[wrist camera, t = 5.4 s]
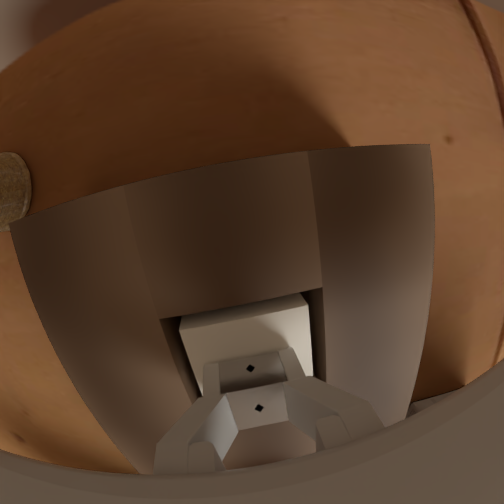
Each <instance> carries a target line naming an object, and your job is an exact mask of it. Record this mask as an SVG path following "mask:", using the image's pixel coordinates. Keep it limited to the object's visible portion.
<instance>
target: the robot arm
mask: <svg viewBox="0 0 504 504" xmlns="http://www.w3.org/2000/svg"><path fill="white" fill-rule="evenodd" d="M288 420H289V422H291V423H292V424H293V425H295V426H296V427H297V428H299V429H300V430H301V431H303V432H304V433H305V434H307V435H308V436H309V437H311V438H312V439H314V440H315V441H316V452H315V453H312V454H308V455H304V456H301V457H297V458H293V459H288V460H284V461H279V462H275V463H270V464H265V465H259V466H254V467H248V468H241V469H234V470H226V468H225V466H224V464H223V462H222V461H223V459H224V457H225V455H226V453H227V452H228V450H229V448H230V446H231V444H232V443H233V441H234V439H235V437H236V435H237V433H238V430H243V429H248V428H253V427H258V426H262V425H268V424H273V423H278V422H283V421H288ZM0 504H504V359H502V360H501V361H500V362H498V363H497V364H496V365H494V366H493V367H492V368H490V369H489V370H488V371H486V372H485V373H483V374H482V375H480V376H479V377H477V378H476V379H475V380H473V381H472V382H470V383H468V384H467V385H465V386H464V387H462V388H461V389H459V390H457V391H456V392H454V393H452V394H451V395H449V396H447V397H446V398H444V399H442V400H440V401H439V402H437V403H435V404H433V405H431V406H429V407H428V408H426V409H424V410H422V411H420V412H418V413H416V414H414V415H412V416H410V417H408V418H406V419H404V420H401V421H399V422H397V423H395V424H393V425H390V426H388V427H386V428H385V426H384V425H383V423H382V422H381V420H380V418H379V417H378V415H377V414H376V412H375V410H374V409H373V407H372V406H371V404H370V403H369V401H366V400H364V399H362V398H359V397H357V396H355V395H352V394H350V393H348V392H345V391H343V390H341V389H339V388H337V387H334V386H332V385H330V384H328V383H326V382H323V381H321V380H319V379H317V378H315V377H313V376H311V375H310V376H306V375H305V373H304V371H303V369H302V366H301V364H300V362H299V360H298V357H297V355H296V353H295V351H294V349H293V348H292V347H289V348H286V349H282V350H278V351H276V352H272V353H267V354H263V355H258V356H253V357H247V358H241V359H235V360H229V361H223V362H217V363H210V364H204V366H203V397H200V398H198V399H197V400H196V401H195V402H194V403H193V404H192V405H191V407H190V408H189V409H188V410H187V411H186V412H185V413H184V414H183V416H182V417H181V418H180V419H179V420H178V421H177V422H176V423H175V424H174V426H173V427H172V428H171V429H170V430H169V431H168V432H167V433H166V434H165V435H164V436H163V437H162V439H161V440H160V441H159V442H158V443H157V445H156V452H155V460H154V468H153V475H147V474H124V473H111V472H101V471H93V470H85V469H79V468H73V467H67V466H61V465H56V464H52V463H47V462H43V461H39V460H35V459H31V458H27V457H24V456H20V455H17V454H13V453H10V452H7V451H4V450H1V449H0Z"/></svg>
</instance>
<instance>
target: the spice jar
mask: <svg viewBox="0 0 504 504" xmlns="http://www.w3.org/2000/svg"><path fill="white" fill-rule="evenodd" d="M31 193H32V187H31V179H30V172H29V170H28V168H27V166H26V164H25V162H24V161H23V159H22V158H21V157H20V156H19V155H17V154H16V153H12V152H3V153H0V232H1V231H10V227H9V223H11V222H13V221H16V220H18V219H21V218H23V217H25V216H26V214H27V211H28V209H29V206H30V200H31Z"/></svg>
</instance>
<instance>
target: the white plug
mask: <svg viewBox="0 0 504 504" xmlns="http://www.w3.org/2000/svg"><path fill="white" fill-rule="evenodd" d="M179 332H180V335H181V338H182V341H183V344H184V347H185V350H186V353H187V355H188V358H189V361H190V364H191V367H192V369H193V372H194V375H195V378H196V380H197V383H198V385H199V388H200V391H201V393H202V396H203V366H204V364H210V363H217V362H223V361H229V360H235V359H241V358H247V357H253V356H258V355H263V354H267V353H272V352H276V351H278V350H282V349H286V348H289V347H292V348H293V349H294V351H295V353H296V355H297V357H298V360H299V362H300V364H301V366H302V369H303V371H304V373H305V375H306V376H310V375H311V376H313V365H312V349H311V335H310V322H309V311H308V304H307V303H306V301H305V300H304V298H303V297H302V295H301V294H300V292H298V293H294V294H289V295H285V296H280V297H275V298H271V299H266V300H261V301H256V302H251V303H246V304H241V305H236V306H231V307H226V308H220V309H215V310H209V311H204V312H198V313H193V314H187V315H182V317H181V323H180V328H179Z"/></svg>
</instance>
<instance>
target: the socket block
mask: <svg viewBox="0 0 504 504" xmlns="http://www.w3.org/2000/svg"><path fill="white" fill-rule="evenodd" d="M9 227H10V231H11V235H12V239H13V243H14V247H15V250H16V254H17V257H18V261H19V264H20V267H21V270H22V273H23V276H24V279H25V282H26V285H27V287H28V290H29V293H30V296H31V298H32V301H33V303H34V306H35V308H36V311H37V313H38V315H39V318H40V320H41V322H42V325H43V327H44V329H45V331H46V333H47V336H48V338H49V340H50V342H51V344H52V346H53V348H54V350H55V352H56V354H57V356H58V358H59V360H60V361H61V363H62V365H63V367H64V369H65V371H66V372H67V374H68V376H69V378H70V379H71V381H72V383H73V384H74V386H75V388H76V389H77V391H78V393H79V394H80V396H81V397H82V399H83V401H84V402H85V404H86V405H87V407H88V408H89V410H90V411H91V413H92V414H93V416H94V417H95V418H96V420H97V421H98V423H99V424H100V425H101V427H102V428H103V430H104V431H105V432H106V434H107V435H108V436H109V438H110V439H111V440H112V441H113V443H114V444H115V445H116V446H117V448H118V449H119V450H120V451H121V453H122V454H123V455H124V456H125V457H126V459H127V460H128V461H129V462H130V463H131V464H132V466H133V467H134V468H135V469H136V470H137V471H138V472H139V473H140V474H147V475H153V468H154V460H155V452H156V445H157V443H158V442H159V441H160V440H161V439H162V437H163V436H164V435H165V434H166V433H167V432H168V431H169V430H170V429H171V428H172V427H173V426H174V424H175V423H176V422H177V421H178V420H179V419H180V418H181V417H182V416H183V414H184V413H185V412H186V411H187V410H188V409H189V408H190V407H191V405H192V404H193V403H194V402H195V401H196V400H197V399H198V398H200V397H203V396H202V393H201V391H200V388H199V385H198V383H197V380H196V378H195V375H194V372H193V369H192V367H191V364H190V361H189V358H188V355H187V353H186V350H185V347H184V344H183V341H182V338H181V335H180V332H179V328H180V323H181V317H182V315H187V314H193V313H198V312H204V311H209V310H215V309H220V308H226V307H231V306H236V305H241V304H246V303H251V302H256V301H261V300H266V299H271V298H275V297H280V296H285V295H289V294H294V293H298V292H300V294H301V295H302V297H303V298H304V300H305V301H306V303H307V304H308V311H309V322H310V335H311V349H312V365H313V377H315V378H317V379H319V380H321V381H323V382H326V383H328V384H330V385H332V386H334V387H337V388H339V389H341V390H343V391H345V392H348V393H350V394H352V395H355V396H357V397H359V398H362V399H364V400H366V401H369V403H370V404H371V406H372V407H373V409H374V410H375V412H376V414H377V415H378V417H379V418H380V420H381V422H382V423H383V425H384V426H385V428H386V427H388V426H390V425H393V424H395V423H397V422H399V421H401V420H404V419H405V417H406V414H407V411H408V407H409V404H410V400H411V397H412V393H413V389H414V386H415V382H416V377H417V373H418V369H419V365H420V360H421V355H422V350H423V345H424V339H425V334H426V328H427V321H428V314H429V307H430V298H431V289H432V278H433V264H434V240H435V207H434V184H433V170H432V159H431V150H430V144H398V145H372V146H355V147H342V148H330V149H319V150H309V151H300V152H292V153H284V154H276V155H269V156H262V157H255V158H249V159H243V160H237V161H231V162H225V163H220V164H214V165H209V166H204V167H199V168H194V169H189V170H184V171H180V172H175V173H171V174H166V175H162V176H158V177H153V178H149V179H145V180H141V181H137V182H133V183H130V184H126V185H122V186H118V187H115V188H111V189H108V190H104V191H101V192H97V193H94V194H91V195H87V196H84V197H81V198H78V199H75V200H72V201H68V202H65V203H62V204H59V205H57V206H54V207H51V208H48V209H45V210H42V211H39V212H37V213H34V214H31V215H29V216H26V217H23V218H21V219H18V220H16V221H13V222H11V223H9ZM315 452H316V441H315V440H314V439H312V438H311V437H309V436H308V435H307V434H305V433H304V432H303V431H301V430H300V429H299V428H297V427H296V426H295V425H293V424H292V423H291V422H289V420H288V421H283V422H278V423H273V424H268V425H262V426H258V427H253V428H248V429H243V430H238V433H237V435H236V437H235V439H234V441H233V443H232V444H231V446H230V448H229V450H228V452H227V453H226V455H225V457H224V459H223V461H222V462H223V464H224V466H225V468H226V470H234V469H241V468H248V467H254V466H259V465H265V464H270V463H275V462H279V461H284V460H288V459H293V458H297V457H301V456H304V455H308V454H312V453H315Z"/></svg>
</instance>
